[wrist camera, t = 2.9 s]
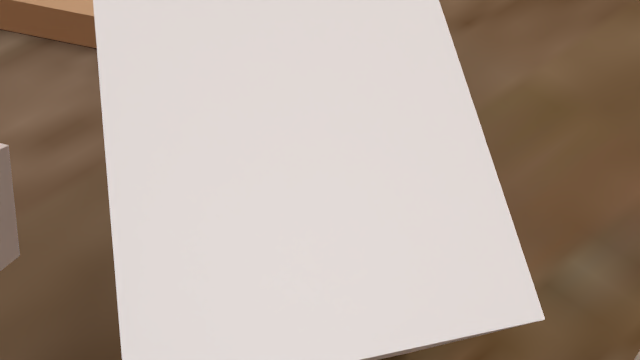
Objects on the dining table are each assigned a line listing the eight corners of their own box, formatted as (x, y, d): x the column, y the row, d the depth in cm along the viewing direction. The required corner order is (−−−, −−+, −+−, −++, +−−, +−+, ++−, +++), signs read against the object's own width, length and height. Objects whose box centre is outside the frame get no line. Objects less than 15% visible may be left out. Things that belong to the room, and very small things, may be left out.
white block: (262, 384, 19) (126, 411, 6) (224, 144, 22) (79, -157, 9) (411, 352, 19) (560, 316, 7) (353, 119, 22) (381, -208, 9)
